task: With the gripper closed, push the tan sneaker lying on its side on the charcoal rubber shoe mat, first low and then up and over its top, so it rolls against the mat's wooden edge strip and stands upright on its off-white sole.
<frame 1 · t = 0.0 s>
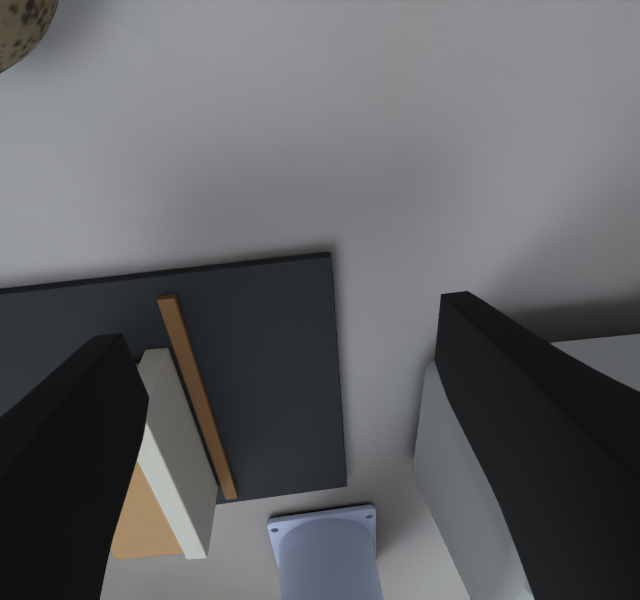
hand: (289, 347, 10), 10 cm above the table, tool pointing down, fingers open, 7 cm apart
shoe mat: (148, 413, 25), on the table
tank: (619, 350, 26), on the table
sneaker: (152, 430, 25), resting on shoe mat
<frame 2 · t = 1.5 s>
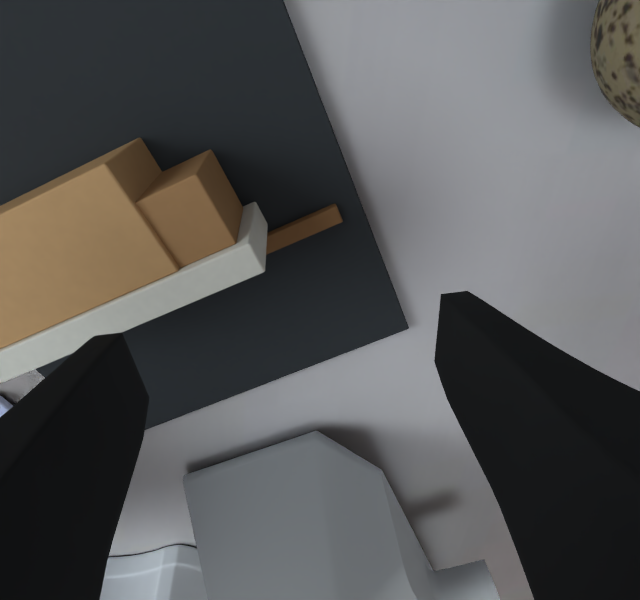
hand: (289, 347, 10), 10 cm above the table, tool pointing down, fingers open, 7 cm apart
shoe mat: (134, 214, 18), on the table
jar: (160, 576, 36), on the table
tank: (356, 519, 34), on the table
sneaker: (111, 228, 18), resting on shoe mat
decorative egg: (635, 11, 16), on the table
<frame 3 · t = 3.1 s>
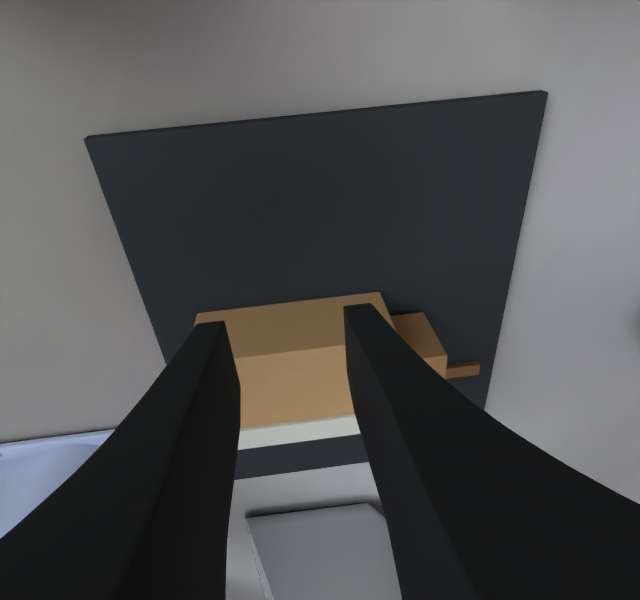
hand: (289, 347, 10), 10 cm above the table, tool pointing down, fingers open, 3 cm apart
shoe mat: (335, 331, 23), on the table
tank: (351, 573, 39), on the table
sneaker: (317, 339, 23), resting on shoe mat
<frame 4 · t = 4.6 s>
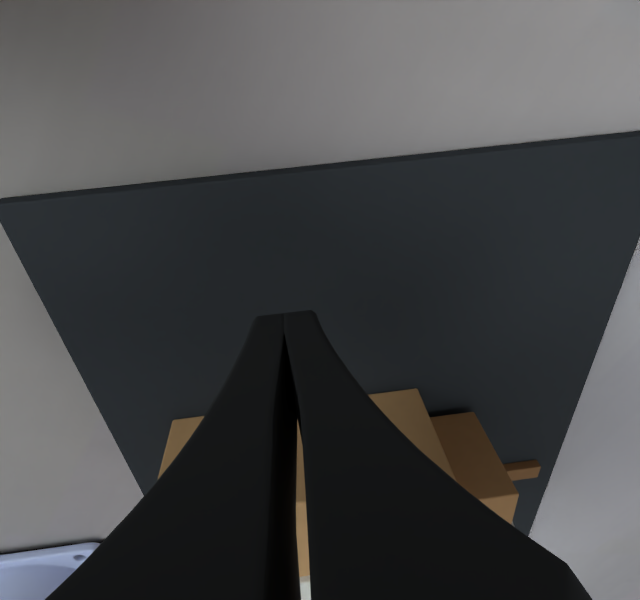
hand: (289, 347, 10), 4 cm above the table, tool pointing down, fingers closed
shoe mat: (355, 430, 18), on the table
sneaker: (332, 442, 17), resting on shoe mat
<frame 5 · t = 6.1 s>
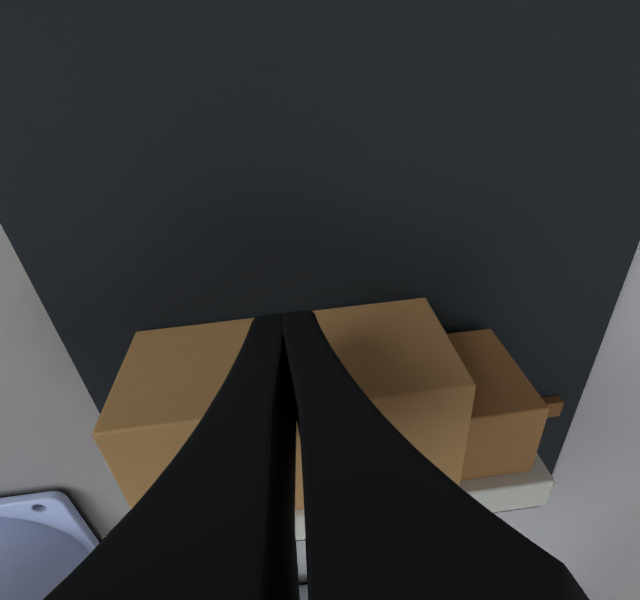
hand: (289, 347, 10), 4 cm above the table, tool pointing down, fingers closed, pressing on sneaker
shoe mat: (352, 355, 15), on the table
sneaker: (326, 367, 15), resting on shoe mat, touching gripper
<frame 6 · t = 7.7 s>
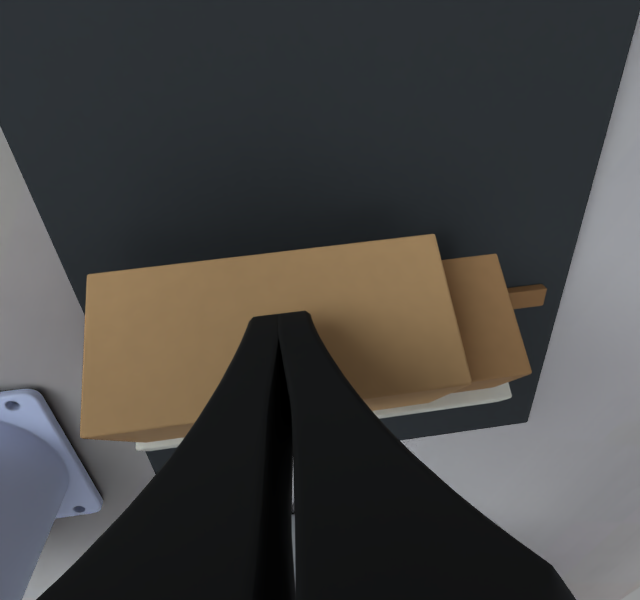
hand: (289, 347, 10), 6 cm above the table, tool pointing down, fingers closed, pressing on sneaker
shoe mat: (331, 232, 15), on the table
sneaker: (310, 277, 14), point 2 cm above the table, tilted 38°, touching gripper, shoe mat
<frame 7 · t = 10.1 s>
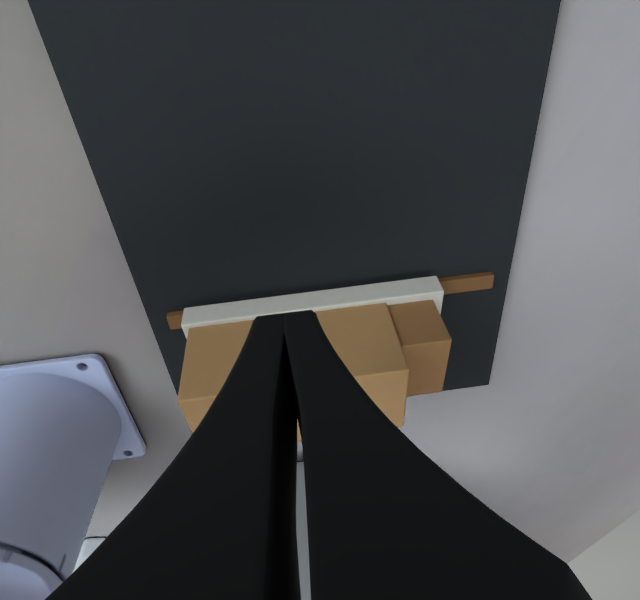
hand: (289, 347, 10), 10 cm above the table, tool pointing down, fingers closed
shoe mat: (326, 232, 20), on the table
jar: (139, 566, 35), on the table
tank: (351, 540, 36), on the table
sneaker: (317, 329, 18), point 4 cm above the table, tilted 98°, touching shoe mat
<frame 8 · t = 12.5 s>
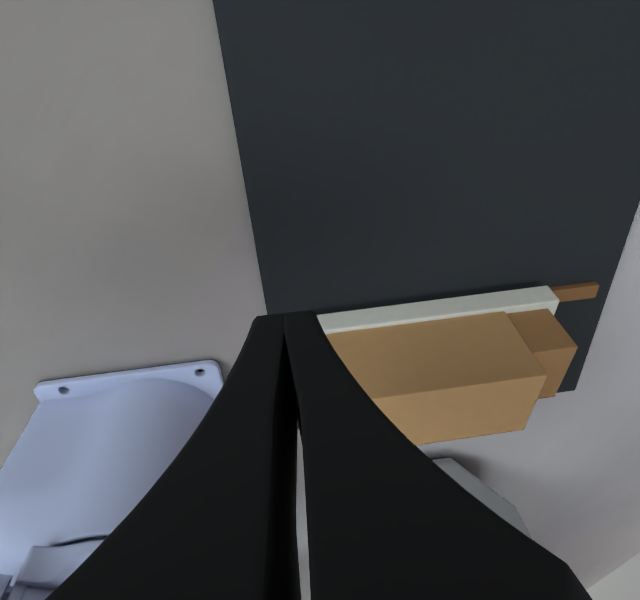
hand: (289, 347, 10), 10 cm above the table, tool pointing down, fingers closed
shoe mat: (446, 244, 21), on the table
tank: (417, 544, 37), on the table
sneaker: (447, 337, 19), point 4 cm above the table, tilted 98°, touching shoe mat
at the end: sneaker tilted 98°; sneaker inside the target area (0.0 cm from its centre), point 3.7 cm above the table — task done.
